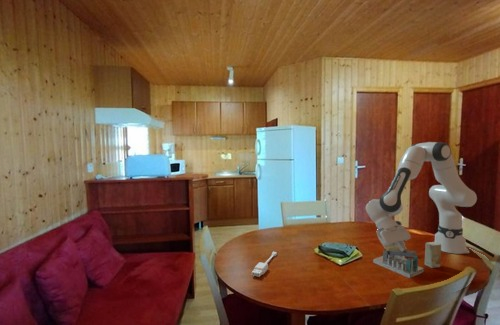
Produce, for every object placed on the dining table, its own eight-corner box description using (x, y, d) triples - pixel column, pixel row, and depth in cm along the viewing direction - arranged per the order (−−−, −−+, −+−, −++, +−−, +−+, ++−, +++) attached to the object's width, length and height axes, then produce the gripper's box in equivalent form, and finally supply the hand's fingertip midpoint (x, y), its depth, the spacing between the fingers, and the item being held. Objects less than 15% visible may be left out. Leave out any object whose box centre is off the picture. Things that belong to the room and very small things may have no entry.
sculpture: (382, 252, 160) (382, 235, 160) (382, 245, 171) (382, 229, 170) (403, 255, 155) (404, 237, 154) (403, 248, 166) (403, 231, 165)
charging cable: (279, 255, 161) (279, 250, 161) (260, 278, 131) (260, 271, 131) (271, 254, 163) (271, 249, 163) (250, 276, 133) (251, 270, 133)
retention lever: (384, 250, 145) (411, 252, 132) (389, 249, 147) (416, 251, 134) (385, 254, 145) (412, 257, 132) (389, 252, 147) (417, 255, 134)
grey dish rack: (373, 262, 147) (373, 248, 146) (386, 257, 153) (387, 244, 152) (409, 278, 129) (410, 262, 129) (423, 272, 135) (424, 256, 135)
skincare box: (431, 268, 139) (432, 245, 138) (424, 264, 143) (424, 242, 142) (441, 266, 141) (441, 244, 140) (433, 263, 145) (434, 241, 144)
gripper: (378, 226, 138) (396, 251, 130) (402, 221, 148) (420, 244, 140) (370, 232, 142) (387, 257, 134) (394, 226, 152) (411, 249, 144)
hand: (404, 250), depth 137 cm, fingers closed, pressing on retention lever
